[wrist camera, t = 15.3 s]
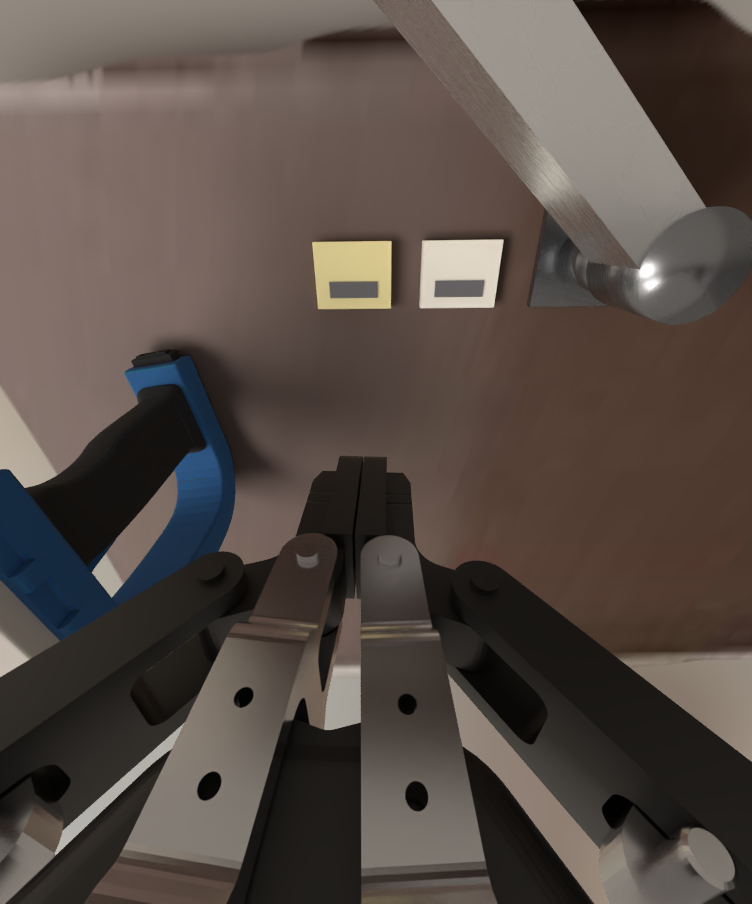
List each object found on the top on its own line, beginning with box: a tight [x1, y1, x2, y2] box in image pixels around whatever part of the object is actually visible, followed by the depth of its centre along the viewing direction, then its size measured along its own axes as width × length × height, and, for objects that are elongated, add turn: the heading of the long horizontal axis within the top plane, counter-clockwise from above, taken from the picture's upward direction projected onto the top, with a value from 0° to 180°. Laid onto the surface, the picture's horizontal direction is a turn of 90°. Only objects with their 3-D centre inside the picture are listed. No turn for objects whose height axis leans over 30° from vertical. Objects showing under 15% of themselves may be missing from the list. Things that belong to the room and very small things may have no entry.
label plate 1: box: [312, 241, 391, 309], centre depth 24 cm, size 5×4×1 cm
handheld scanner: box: [0, 350, 235, 677], centre depth 22 cm, size 5×16×20 cm, turn 9°
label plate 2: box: [419, 239, 504, 308], centre depth 24 cm, size 5×4×1 cm
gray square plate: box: [527, 209, 609, 307], centre depth 22 cm, size 6×6×5 cm
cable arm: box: [373, 0, 752, 325], centre depth 15 cm, size 21×4×5 cm, turn 51°
